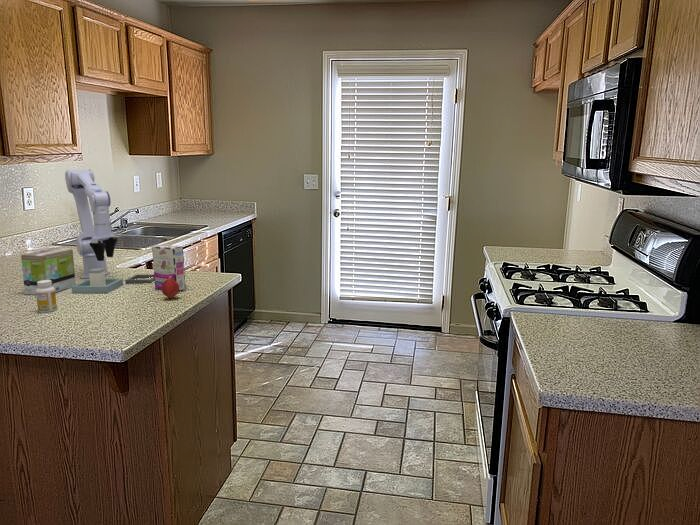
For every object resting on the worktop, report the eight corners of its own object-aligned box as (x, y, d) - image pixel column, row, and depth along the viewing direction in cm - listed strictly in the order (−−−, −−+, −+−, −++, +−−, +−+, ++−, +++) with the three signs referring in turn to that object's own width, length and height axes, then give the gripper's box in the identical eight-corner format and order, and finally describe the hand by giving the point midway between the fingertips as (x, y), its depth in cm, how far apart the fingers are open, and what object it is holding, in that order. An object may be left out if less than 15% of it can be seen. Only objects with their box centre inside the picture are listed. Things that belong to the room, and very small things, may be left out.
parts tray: (90, 285, 210) (89, 278, 210) (123, 285, 210) (122, 278, 209) (72, 293, 198) (71, 286, 197) (107, 293, 197) (106, 286, 197)
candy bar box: (186, 289, 202) (183, 246, 199) (176, 292, 198) (173, 248, 194) (164, 286, 207) (161, 244, 204) (154, 289, 203) (151, 246, 199)
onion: (162, 301, 186) (160, 278, 184) (162, 297, 191) (161, 275, 190) (179, 300, 187) (178, 277, 186) (180, 296, 193) (178, 274, 191)
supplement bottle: (52, 307, 180) (49, 278, 178) (60, 310, 176) (56, 280, 174) (35, 310, 176) (31, 281, 174) (42, 313, 172) (38, 284, 170)
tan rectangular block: (95, 286, 206) (93, 268, 204) (106, 286, 206) (104, 268, 204) (90, 289, 202) (88, 270, 200) (101, 289, 202) (99, 270, 200)
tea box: (48, 296, 195) (43, 255, 192) (24, 294, 197) (19, 254, 194) (77, 286, 209) (73, 248, 206) (54, 285, 211) (50, 247, 208)
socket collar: (136, 278, 222) (136, 274, 221) (160, 278, 221) (160, 274, 221) (125, 283, 212) (125, 280, 212) (150, 283, 212) (150, 280, 211)
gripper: (103, 226, 200) (106, 262, 203) (121, 221, 215) (124, 255, 217) (84, 226, 201) (88, 262, 203) (103, 221, 215) (106, 255, 217)
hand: (105, 258), depth 210 cm, fingers open, 7 cm apart
